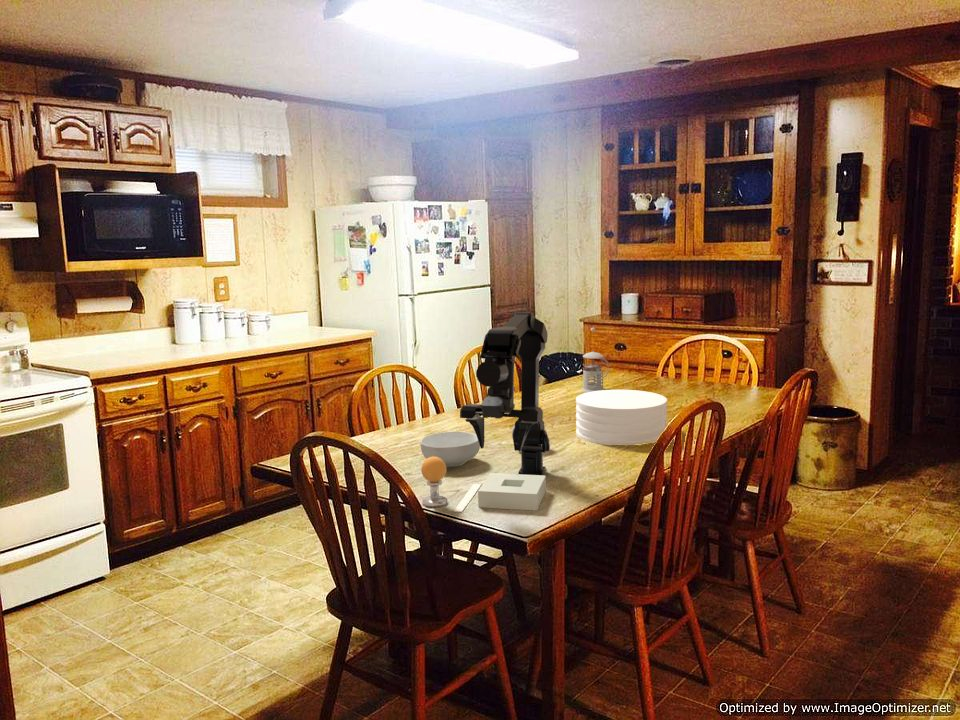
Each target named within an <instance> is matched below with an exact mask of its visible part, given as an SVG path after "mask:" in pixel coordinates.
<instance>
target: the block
mask: <svg viewBox="0 0 960 720" xmlns="http://www.w3.org/2000/svg"><path fill="white" fill-rule="evenodd" d="M546 480H547V476H546V475H525V474H518V473H500V472H499V473H498V472H497V473H496V472H490V473H489V475H488V477H487V478H485V480H484V482H483V483H482V484H481V486H480V488H479V489H478V491H477V498H478V499H477V503H478V508H490V509H501V510H502V509H503V510H519V511H520V510H522V511H538V509H539V506H540V505H541V502H542V500H543V499H544V496H545V494H546V492H547V481H546Z"/></svg>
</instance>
